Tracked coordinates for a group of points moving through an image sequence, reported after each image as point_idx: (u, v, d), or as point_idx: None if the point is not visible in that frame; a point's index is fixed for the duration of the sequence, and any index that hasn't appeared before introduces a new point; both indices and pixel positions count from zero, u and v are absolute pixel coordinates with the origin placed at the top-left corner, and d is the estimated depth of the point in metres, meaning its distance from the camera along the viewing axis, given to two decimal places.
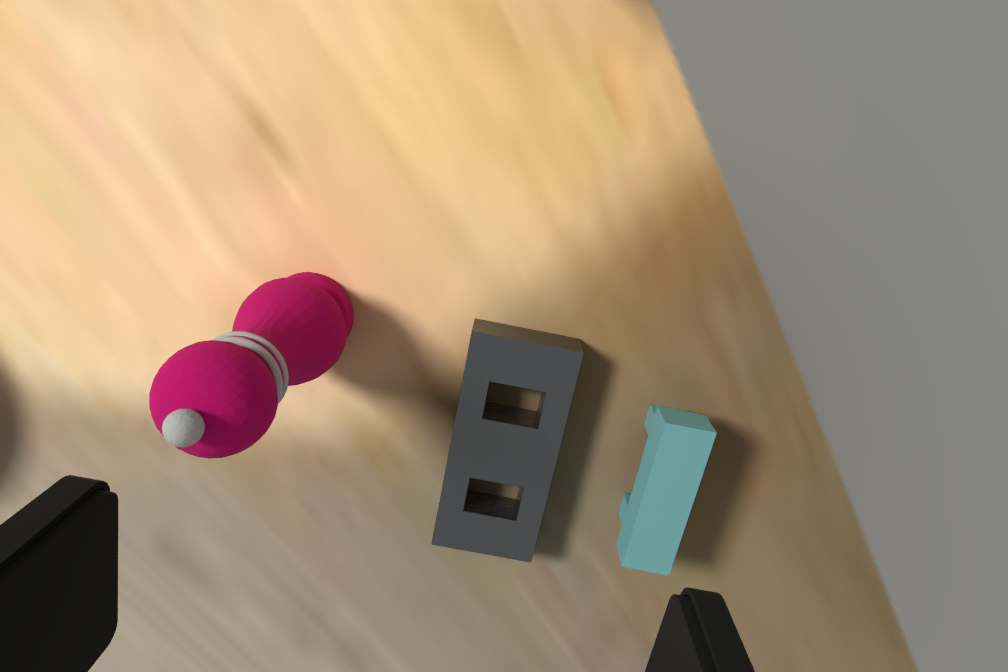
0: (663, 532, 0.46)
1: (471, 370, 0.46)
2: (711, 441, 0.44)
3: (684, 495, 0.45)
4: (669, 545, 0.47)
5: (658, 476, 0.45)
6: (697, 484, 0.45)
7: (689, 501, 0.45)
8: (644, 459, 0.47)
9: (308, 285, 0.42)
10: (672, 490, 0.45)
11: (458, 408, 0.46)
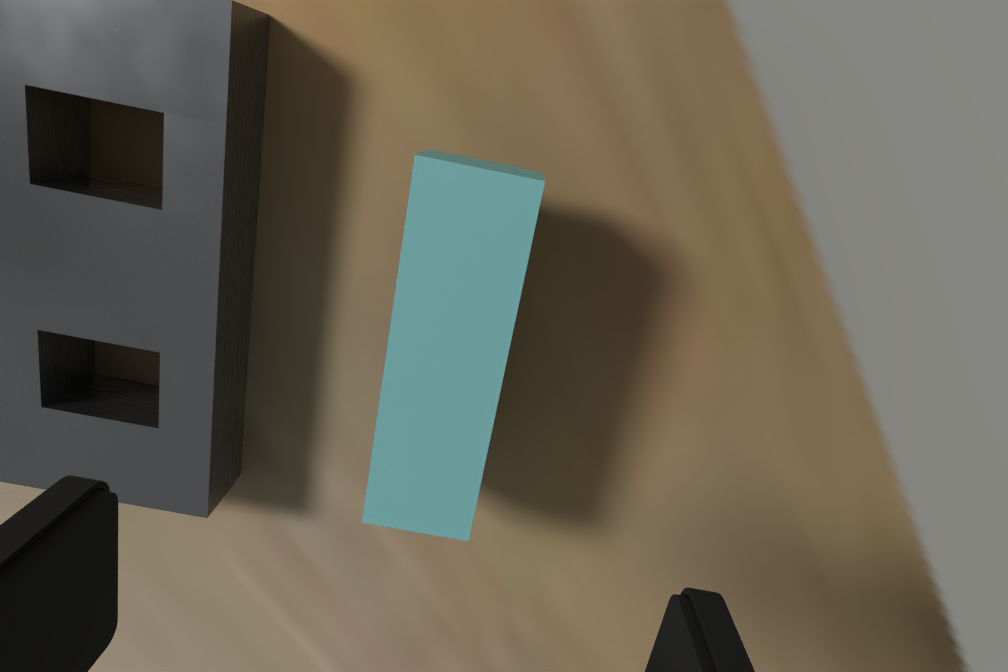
0: (444, 442, 0.20)
1: None
2: (533, 205, 0.18)
3: (482, 350, 0.19)
4: (461, 472, 0.21)
5: (415, 301, 0.19)
6: (510, 321, 0.19)
7: (495, 365, 0.19)
8: None
9: None
10: (451, 338, 0.19)
11: None
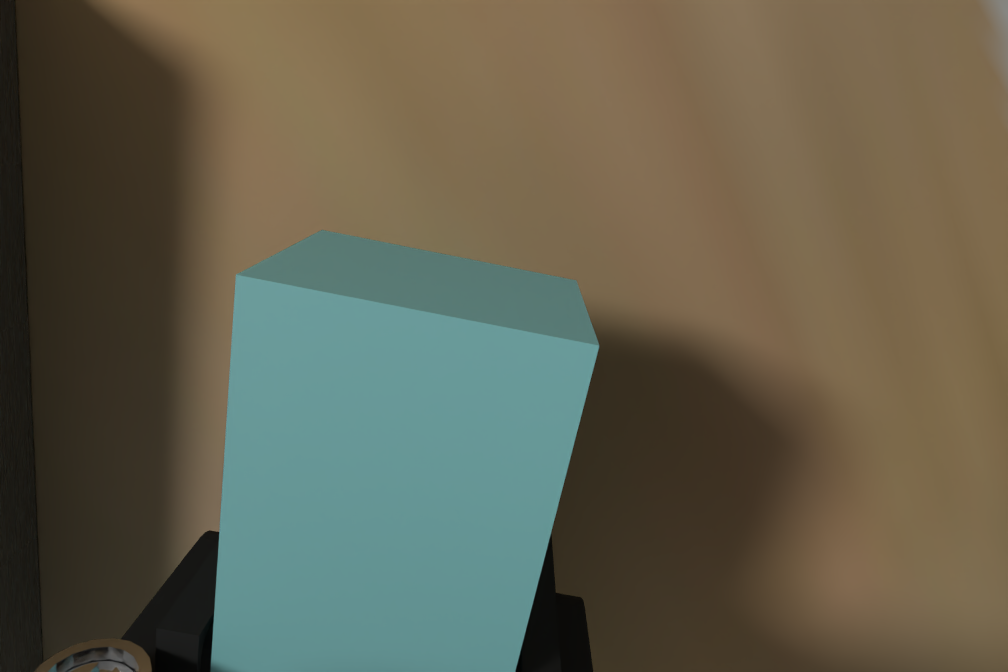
0: None
1: None
2: (566, 407, 0.07)
3: None
4: None
5: (266, 621, 0.07)
6: (504, 667, 0.08)
7: None
8: None
9: None
10: None
11: None
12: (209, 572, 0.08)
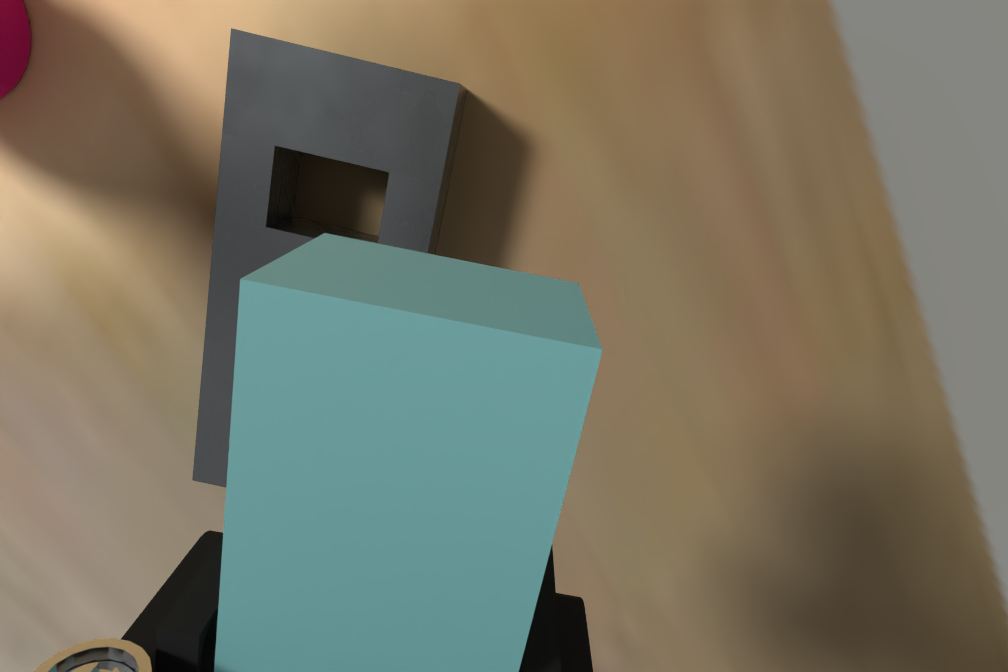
0: None
1: (237, 120, 0.23)
2: (570, 410, 0.07)
3: None
4: None
5: (270, 624, 0.07)
6: (507, 669, 0.08)
7: None
8: None
9: None
10: None
11: (218, 204, 0.24)
12: (209, 572, 0.08)
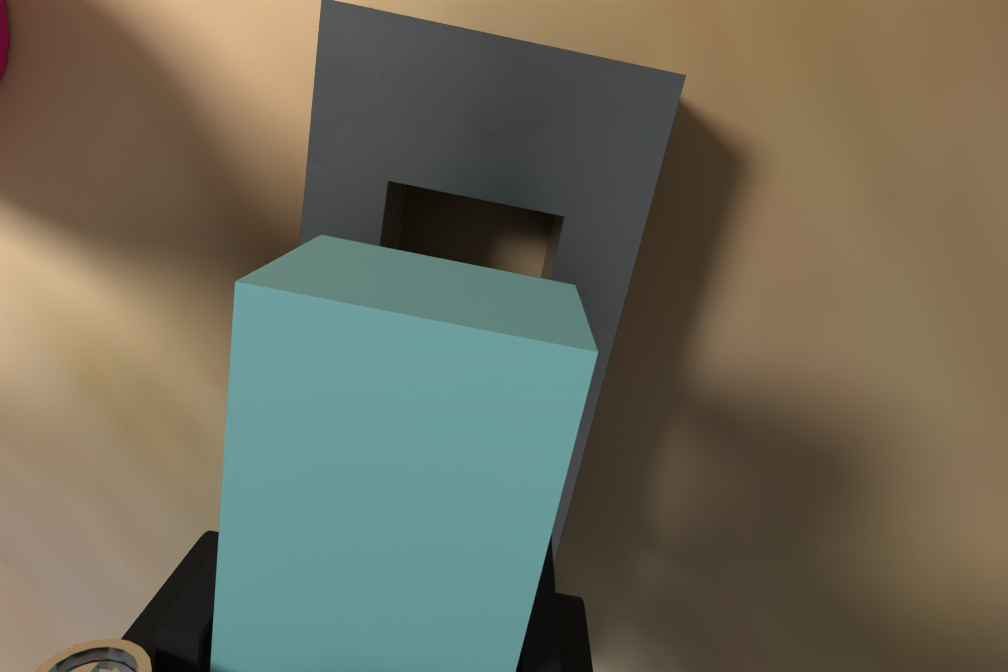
0: None
1: (330, 143, 0.15)
2: (565, 413, 0.07)
3: None
4: None
5: (265, 627, 0.07)
6: None
7: None
8: None
9: None
10: None
11: None
12: (209, 572, 0.08)
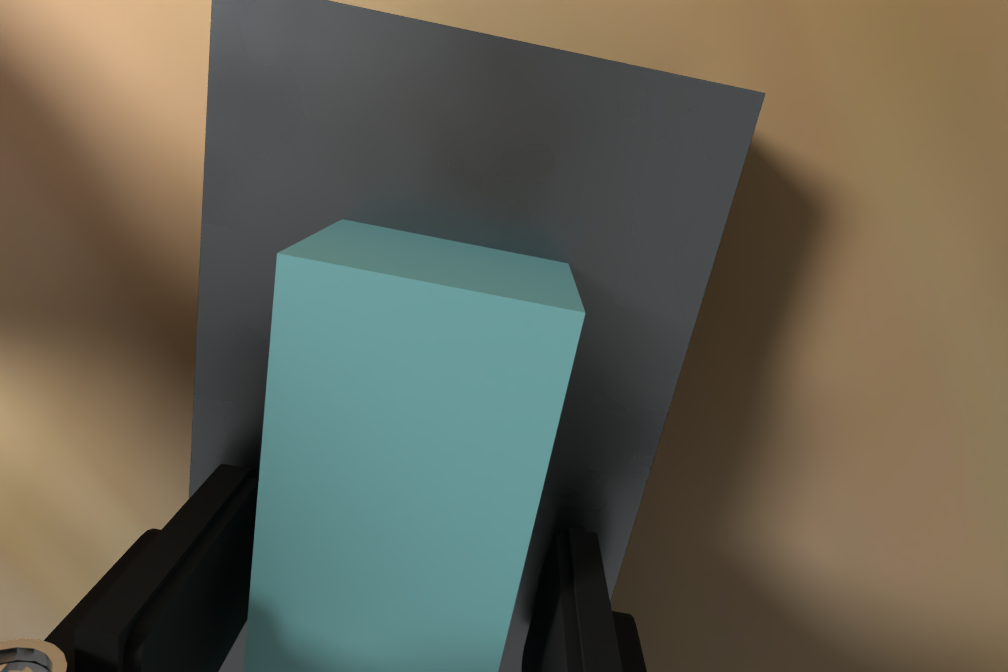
0: None
1: (234, 192, 0.10)
2: (558, 366, 0.08)
3: (445, 649, 0.09)
4: None
5: (298, 558, 0.09)
6: (505, 598, 0.09)
7: None
8: None
9: None
10: (381, 626, 0.09)
11: (200, 371, 0.11)
12: (137, 571, 0.08)
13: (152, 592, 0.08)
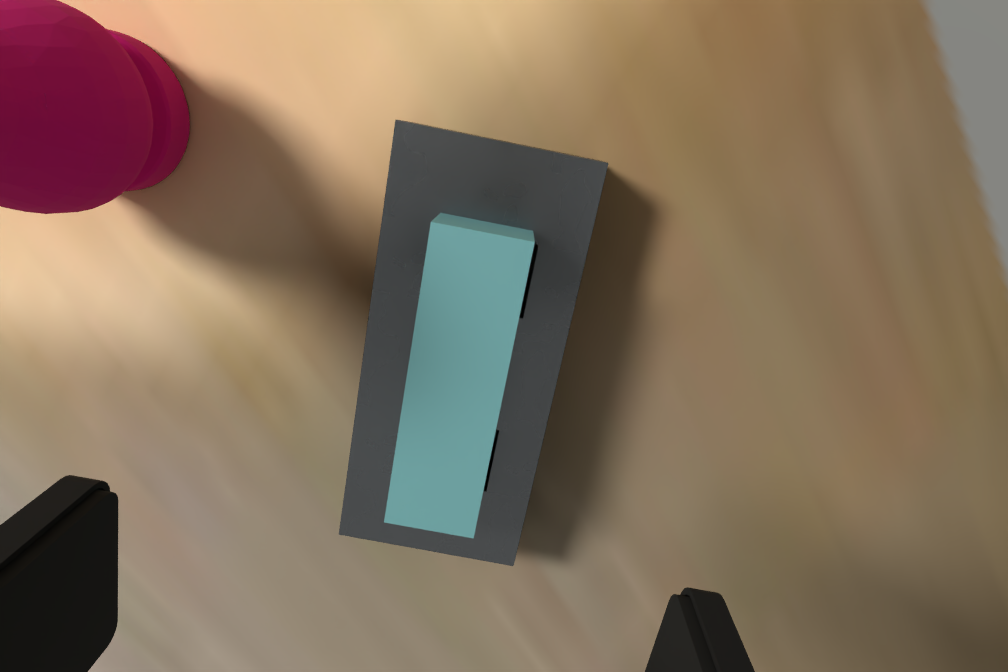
0: (453, 454, 0.24)
1: (397, 202, 0.24)
2: (525, 261, 0.22)
3: (484, 377, 0.23)
4: (467, 479, 0.25)
5: (430, 338, 0.23)
6: (507, 354, 0.23)
7: (495, 389, 0.23)
8: None
9: (59, 4, 0.21)
10: (460, 367, 0.23)
11: (376, 278, 0.25)
12: None
13: None
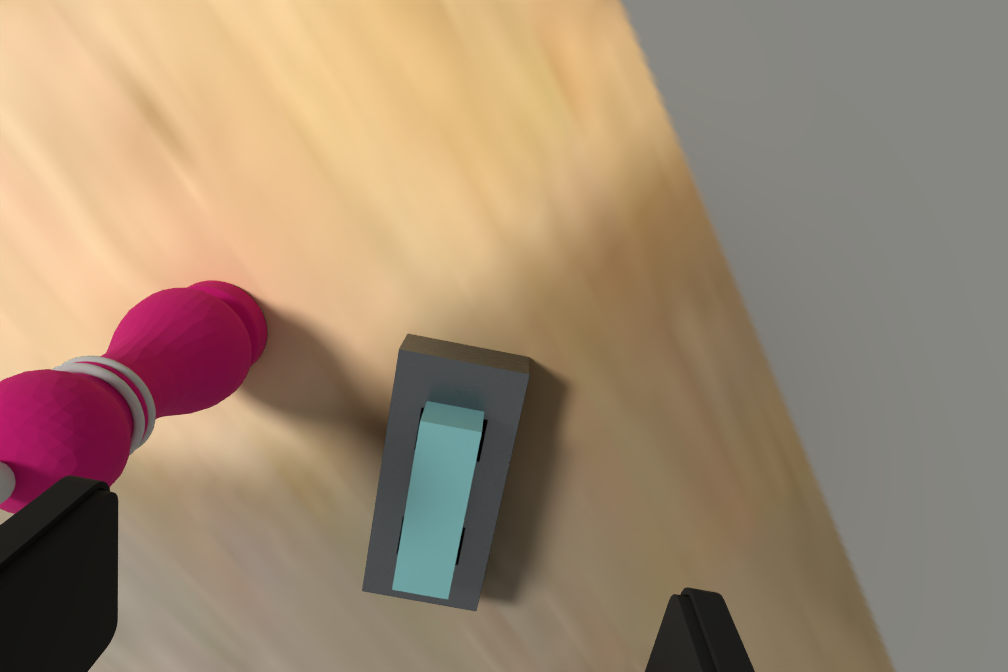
0: (435, 550, 0.39)
1: (400, 394, 0.39)
2: (476, 442, 0.37)
3: (453, 506, 0.38)
4: (444, 564, 0.40)
5: (420, 484, 0.38)
6: (467, 493, 0.38)
7: (459, 513, 0.39)
8: None
9: (202, 297, 0.36)
10: (438, 500, 0.38)
11: (386, 438, 0.40)
12: None
13: None
